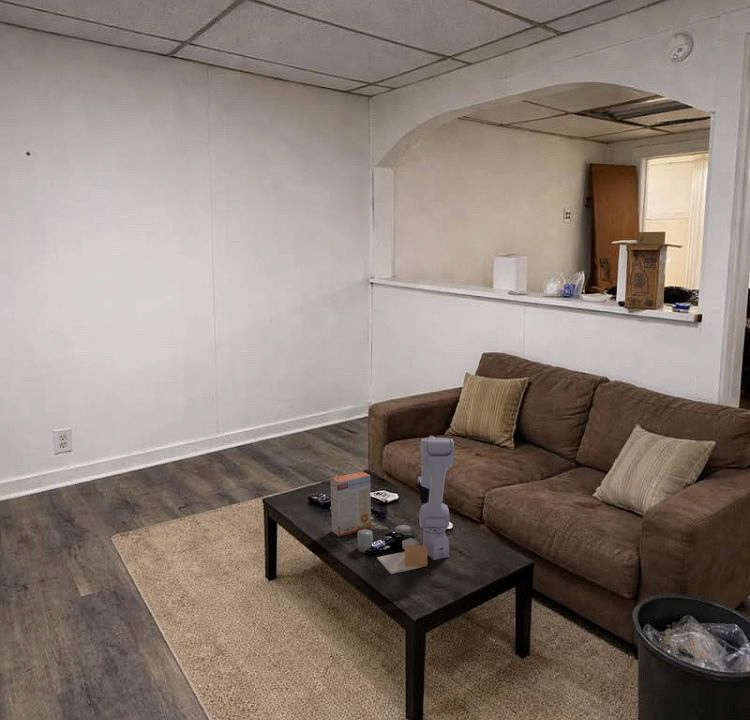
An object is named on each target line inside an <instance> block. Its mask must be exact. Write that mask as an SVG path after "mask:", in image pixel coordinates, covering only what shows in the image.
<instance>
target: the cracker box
mask: <svg viewBox="0 0 750 720" xmlns="http://www.w3.org/2000/svg"><path fill="white" fill-rule="evenodd" d="M371 494H372V493H371V475H370V474H368V473H366V472H365V471H358V472H353V473H350V474H345V475H339V476H335V477H330V508H331V509H330V510H331V512H330V513H331V532H332V533H333V534H335V535H336V536H337V537H339V538H340V537H344V536H347V535H351V534H353V533H357V532H358V531H359V530H363V529H367V530H370V529H371V528H372V512H371V511H372V510H371V509H372V508H371V507H372V504H371V503H372V498H371V497H372V495H371Z"/></svg>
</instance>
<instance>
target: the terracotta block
mask: <svg viewBox="0 0 750 720" xmlns="http://www.w3.org/2000/svg"><path fill="white" fill-rule="evenodd" d="M404 552H405V565H406V567H413V566H422V567H428V555H427V547H426V545H423V544H420V545H405V550H404Z"/></svg>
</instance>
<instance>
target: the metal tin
mask: <svg viewBox="0 0 750 720" xmlns="http://www.w3.org/2000/svg"><path fill="white" fill-rule="evenodd" d="M401 542H402V543H401V545H402V547H401V548H402V550H404V551H405V545H421V542H419V541H417V540H416V539H414V538H413V537H408V538H405V539H404V540H402V541H401Z"/></svg>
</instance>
